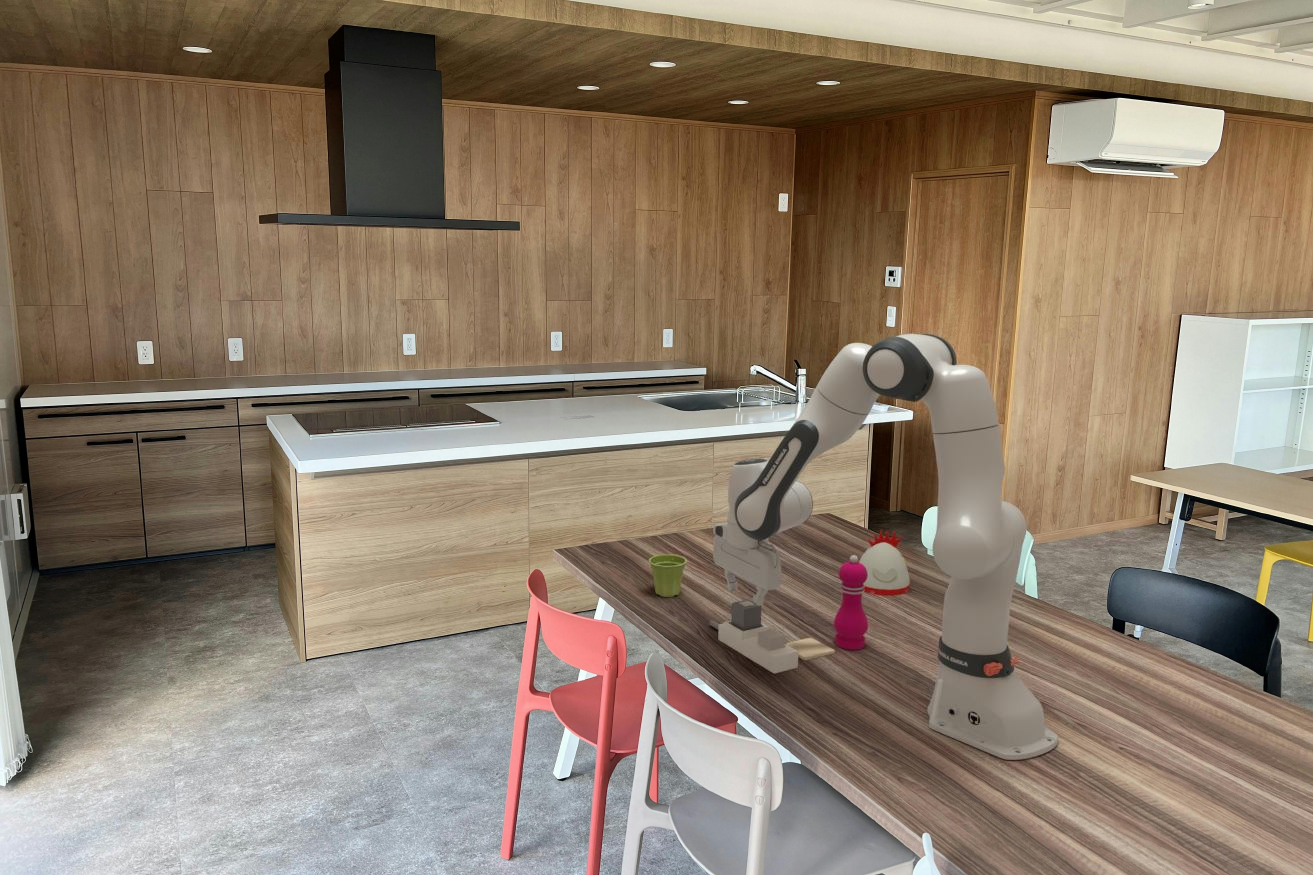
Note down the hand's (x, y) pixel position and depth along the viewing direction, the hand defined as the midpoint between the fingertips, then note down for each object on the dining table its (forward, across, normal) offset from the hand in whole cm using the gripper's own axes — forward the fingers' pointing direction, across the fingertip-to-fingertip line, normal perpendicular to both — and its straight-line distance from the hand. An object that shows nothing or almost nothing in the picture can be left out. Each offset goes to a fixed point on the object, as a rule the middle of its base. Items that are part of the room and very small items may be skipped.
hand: (745, 596), depth 195 cm
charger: (+8, 0, 0) cm, 8 cm away
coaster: (+11, -8, -11) cm, 17 cm away
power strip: (+11, -1, 0) cm, 11 cm away
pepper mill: (+11, -11, -21) cm, 26 cm away
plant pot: (+12, +36, -3) cm, 38 cm away
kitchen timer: (+11, +14, -54) cm, 57 cm away
